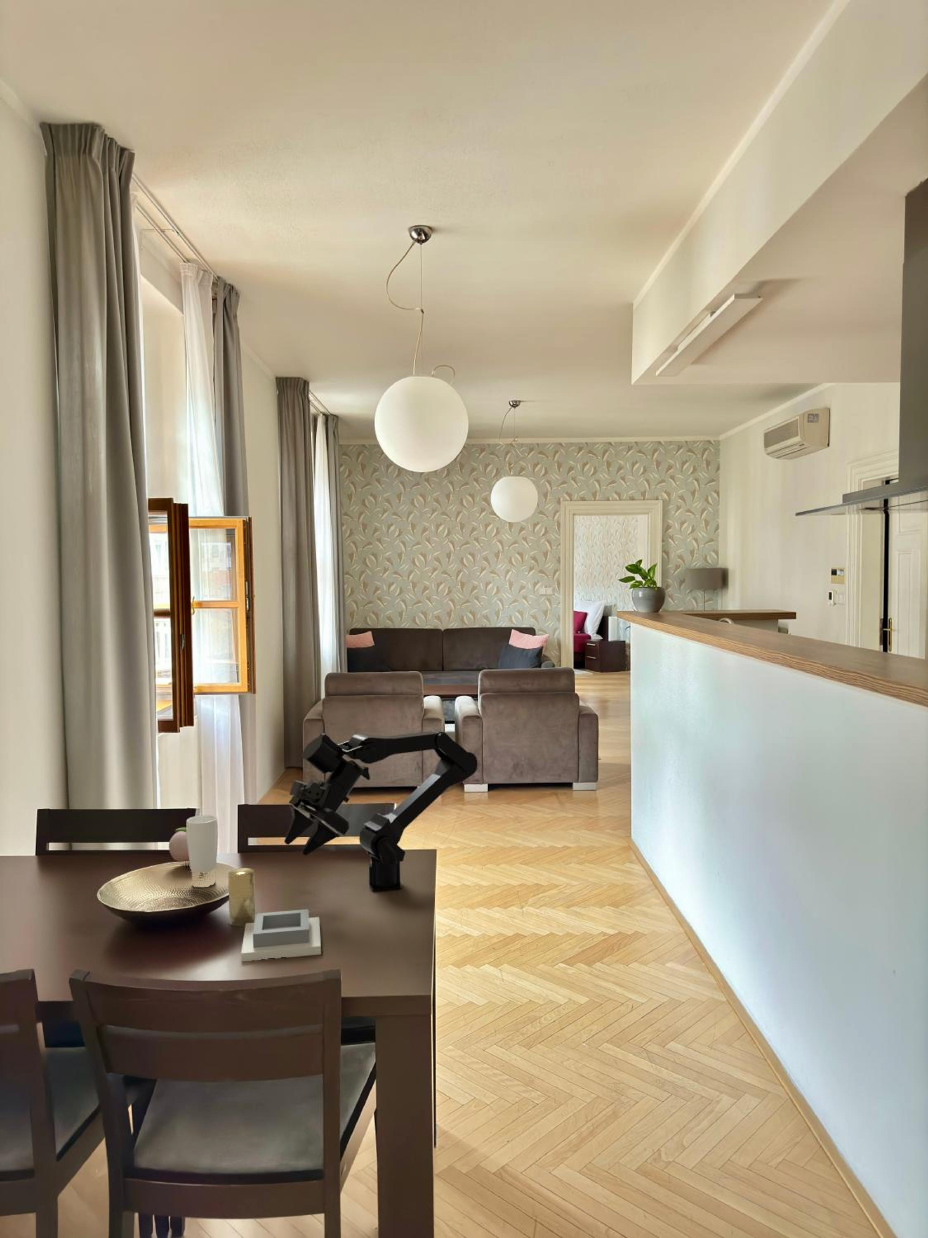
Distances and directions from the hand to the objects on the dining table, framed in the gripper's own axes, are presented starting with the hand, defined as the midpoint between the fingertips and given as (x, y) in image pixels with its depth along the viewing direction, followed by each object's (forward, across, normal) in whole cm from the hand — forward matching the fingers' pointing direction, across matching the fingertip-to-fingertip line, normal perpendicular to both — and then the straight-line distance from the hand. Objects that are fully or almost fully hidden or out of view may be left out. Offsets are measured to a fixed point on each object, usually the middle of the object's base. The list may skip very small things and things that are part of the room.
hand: (294, 848), depth 180 cm
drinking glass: (+17, -25, -1) cm, 30 cm away
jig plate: (+15, +16, +1) cm, 22 cm away
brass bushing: (+17, +1, -1) cm, 17 cm away
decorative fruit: (+16, -40, 0) cm, 43 cm away
